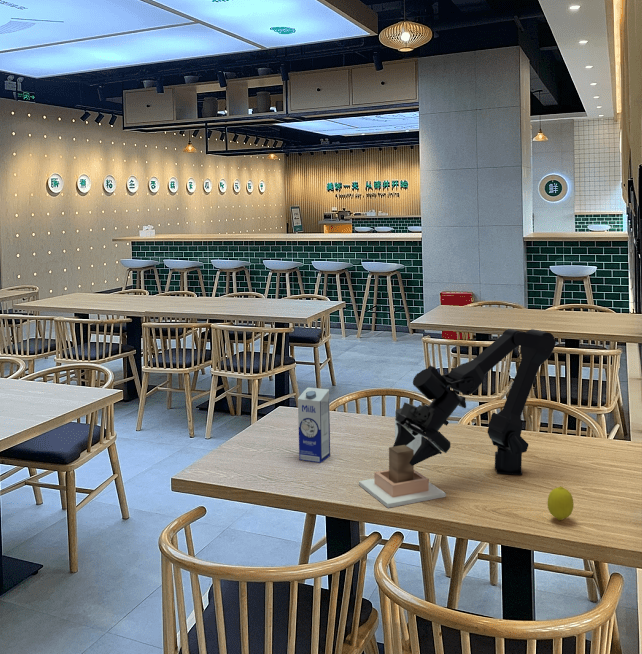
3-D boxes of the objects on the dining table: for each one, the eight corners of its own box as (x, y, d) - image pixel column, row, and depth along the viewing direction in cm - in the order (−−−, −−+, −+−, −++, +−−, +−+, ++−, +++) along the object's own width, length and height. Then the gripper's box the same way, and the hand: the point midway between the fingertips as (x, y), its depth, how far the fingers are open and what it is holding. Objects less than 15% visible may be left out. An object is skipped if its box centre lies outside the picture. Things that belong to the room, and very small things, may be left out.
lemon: (567, 514, 162) (568, 481, 161) (576, 525, 157) (578, 490, 155) (543, 515, 162) (544, 482, 161) (552, 526, 156) (553, 491, 155)
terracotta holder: (413, 475, 188) (413, 460, 188) (445, 496, 174) (445, 481, 173) (358, 484, 182) (358, 470, 182) (387, 507, 168) (387, 491, 167)
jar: (406, 457, 202) (406, 416, 200) (388, 449, 209) (388, 410, 207) (430, 451, 207) (430, 411, 205) (411, 444, 214) (411, 405, 212)
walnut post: (404, 482, 181) (404, 444, 179) (413, 488, 177) (413, 450, 175) (389, 485, 179) (388, 447, 177) (397, 491, 175) (397, 452, 173)
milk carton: (330, 455, 205) (329, 388, 202) (321, 463, 199) (319, 394, 196) (308, 452, 208) (307, 386, 204) (298, 460, 202) (297, 391, 198)
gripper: (401, 383, 185) (364, 429, 182) (440, 399, 168) (399, 451, 165) (427, 408, 189) (391, 454, 186) (467, 427, 172) (428, 478, 169)
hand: (401, 458), depth 177 cm, fingers open, 9 cm apart
